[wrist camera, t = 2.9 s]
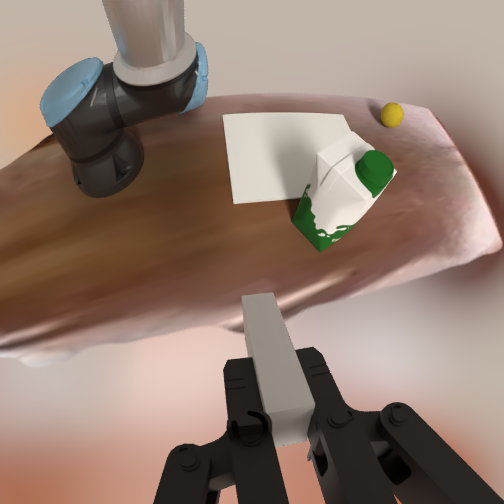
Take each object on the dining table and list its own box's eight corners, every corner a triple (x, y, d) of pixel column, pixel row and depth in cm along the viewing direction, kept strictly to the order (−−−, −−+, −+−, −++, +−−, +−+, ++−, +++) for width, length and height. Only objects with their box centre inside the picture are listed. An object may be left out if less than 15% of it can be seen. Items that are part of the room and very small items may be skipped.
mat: (222, 116, 55) (222, 114, 54) (342, 116, 58) (342, 114, 57) (233, 203, 47) (233, 202, 47) (376, 195, 50) (377, 193, 50)
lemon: (395, 136, 57) (409, 115, 50) (376, 128, 58) (389, 106, 50) (394, 123, 59) (406, 102, 52) (375, 115, 60) (387, 93, 52)
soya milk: (319, 260, 45) (374, 196, 26) (283, 220, 47) (312, 138, 28) (352, 230, 47) (410, 162, 28) (317, 194, 49) (356, 114, 30)
